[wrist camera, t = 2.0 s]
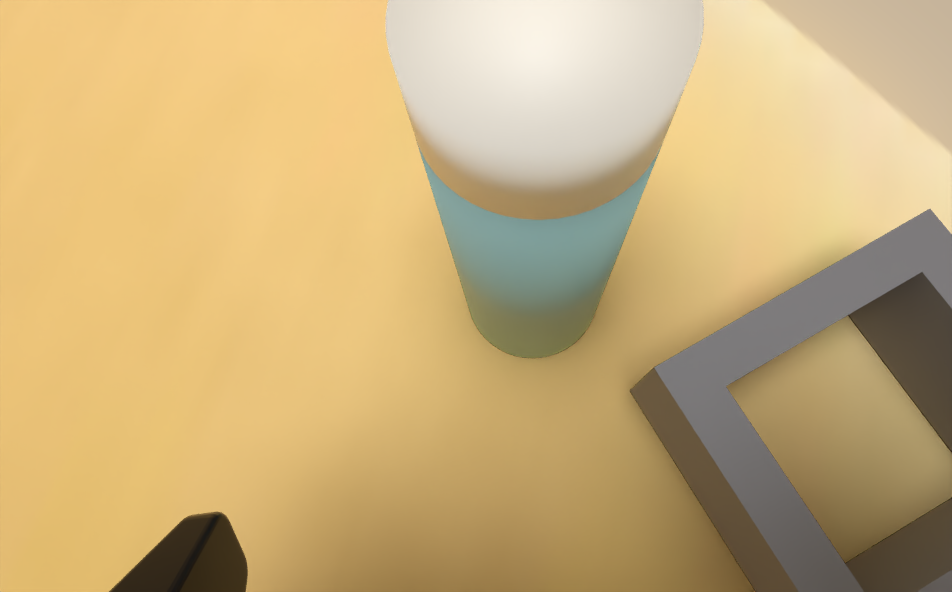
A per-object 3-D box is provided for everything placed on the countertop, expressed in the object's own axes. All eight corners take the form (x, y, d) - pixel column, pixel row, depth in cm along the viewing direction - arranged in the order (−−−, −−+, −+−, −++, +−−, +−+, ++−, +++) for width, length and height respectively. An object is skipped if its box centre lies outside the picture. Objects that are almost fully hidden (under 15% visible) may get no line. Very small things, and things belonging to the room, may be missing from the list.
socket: (1153, 643, 17) (1332, 688, 13) (894, 812, 17) (1003, 908, 13) (854, 260, 21) (929, 208, 17) (629, 390, 20) (654, 367, 16)
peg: (622, 317, 21) (769, 56, 8) (507, 382, 20) (481, 214, 8) (554, 212, 22) (593, -159, 9) (445, 272, 21) (333, -28, 9)
